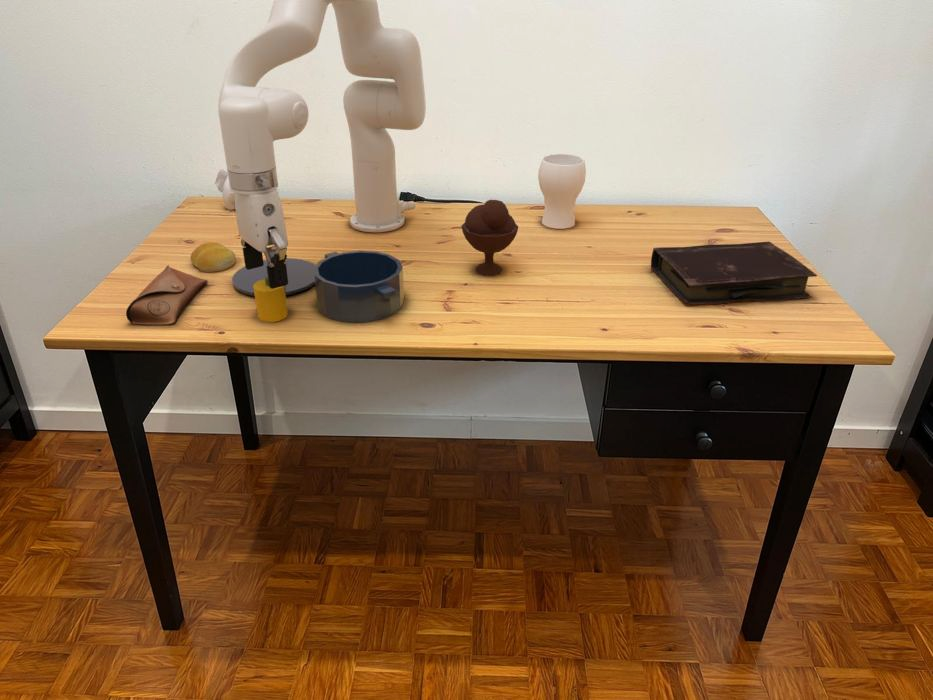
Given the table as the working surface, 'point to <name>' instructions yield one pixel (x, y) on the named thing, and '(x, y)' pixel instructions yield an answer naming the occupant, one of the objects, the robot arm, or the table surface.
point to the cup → (561, 188)
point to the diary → (731, 273)
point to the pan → (359, 286)
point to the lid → (245, 279)
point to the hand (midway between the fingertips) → (266, 276)
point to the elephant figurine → (225, 189)
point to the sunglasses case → (164, 298)
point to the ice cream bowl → (489, 233)
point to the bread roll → (212, 257)
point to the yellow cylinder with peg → (270, 301)
